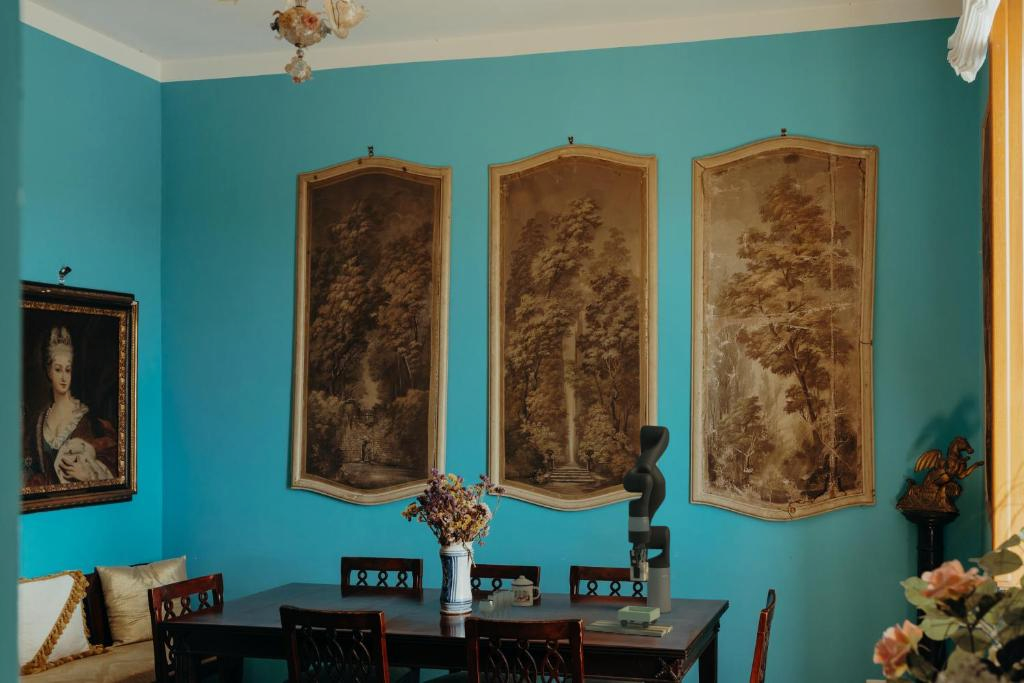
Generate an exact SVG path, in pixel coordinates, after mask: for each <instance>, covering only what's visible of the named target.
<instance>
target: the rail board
mask: <svg viewBox="0 0 1024 683" xmlns="http://www.w3.org/2000/svg"><path fill="white" fill-rule="evenodd" d="M620 622H621V620H620V621H619V620H618V621H614V620H604V619H597V620H596V621H595V622H591V623H588V624H587V625H586V626H585V631H586V630H595V631H604V632H603V633H605V632H617V633H628V634H640V635H650V636H649V637H651V636H662V637H664V636H665V635H664V634H666V633H667V634H669V633H671V632H672V631H674V625H668V624H667V625H666V624H657V623H655V624H652V623H649V627H648V628H643V627H642V623H643V622H630V621H627V622H628V624H627V626H625V627H623V626H621V624H620ZM671 630H672V631H671ZM670 631H671V632H670ZM668 632H669V633H668ZM628 634H627V635H628ZM667 634H666V635H667ZM640 635H639V636H640ZM663 635H664V636H663Z"/></svg>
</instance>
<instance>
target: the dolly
mask: <svg viewBox="0 0 1024 683" xmlns="http://www.w3.org/2000/svg"><path fill="white" fill-rule="evenodd" d="M660 616H661V613H660V608H650V607H647V606H637V605H636V606H633V605H627V606H624V607H622V608H620V609H619V610H617V620H618V621H619V620H620V624H621V626H623V627H625V626H627V624H628V622H632V623H635V622H641V623H642V627H643V628H648V627H649V624H657V623H658V619H659V618H660Z"/></svg>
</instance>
